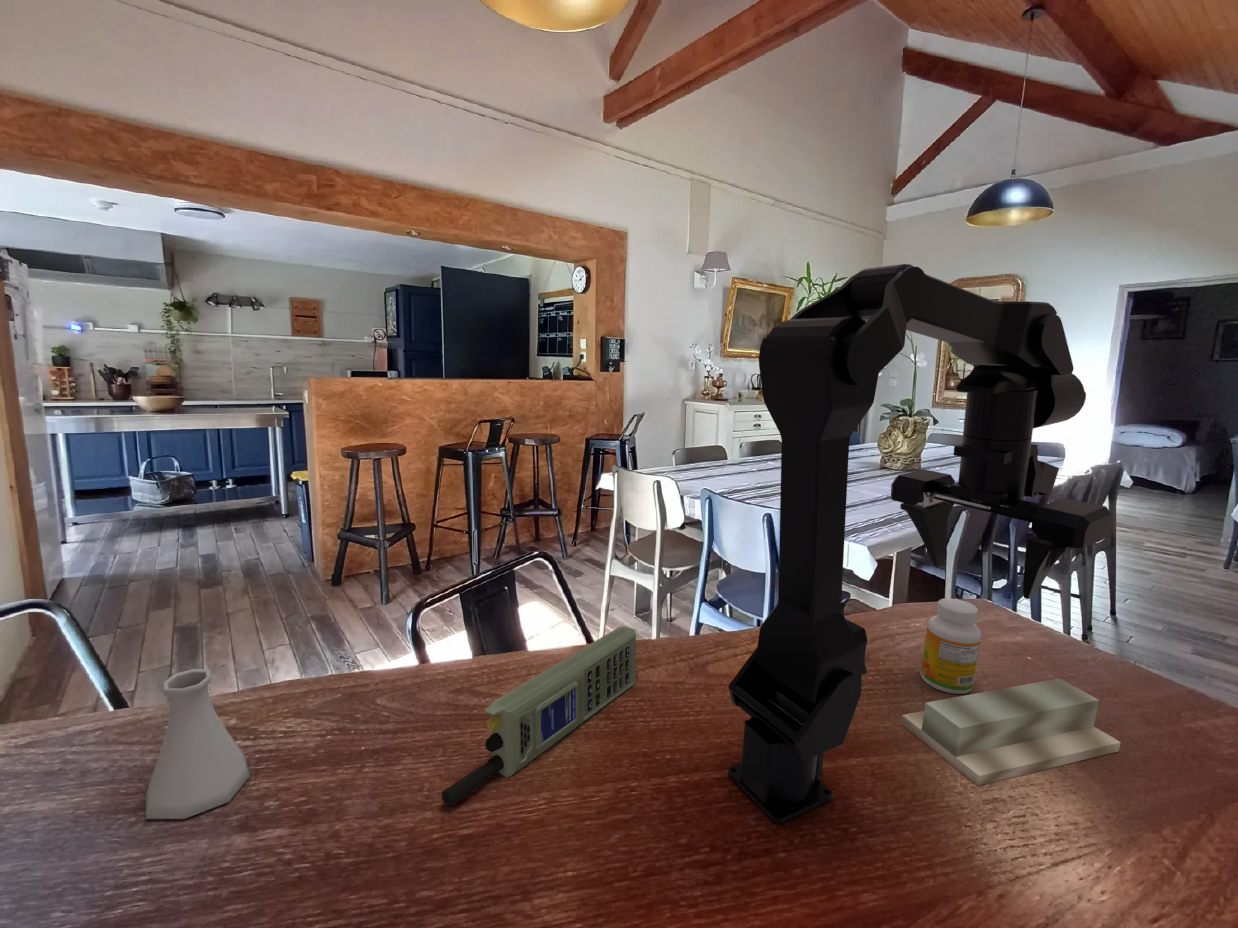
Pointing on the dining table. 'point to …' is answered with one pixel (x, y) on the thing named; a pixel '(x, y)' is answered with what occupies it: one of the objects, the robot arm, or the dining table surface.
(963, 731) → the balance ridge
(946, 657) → the supplement bottle
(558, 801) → the dining table surface
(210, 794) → the flask
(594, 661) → the handheld radio
